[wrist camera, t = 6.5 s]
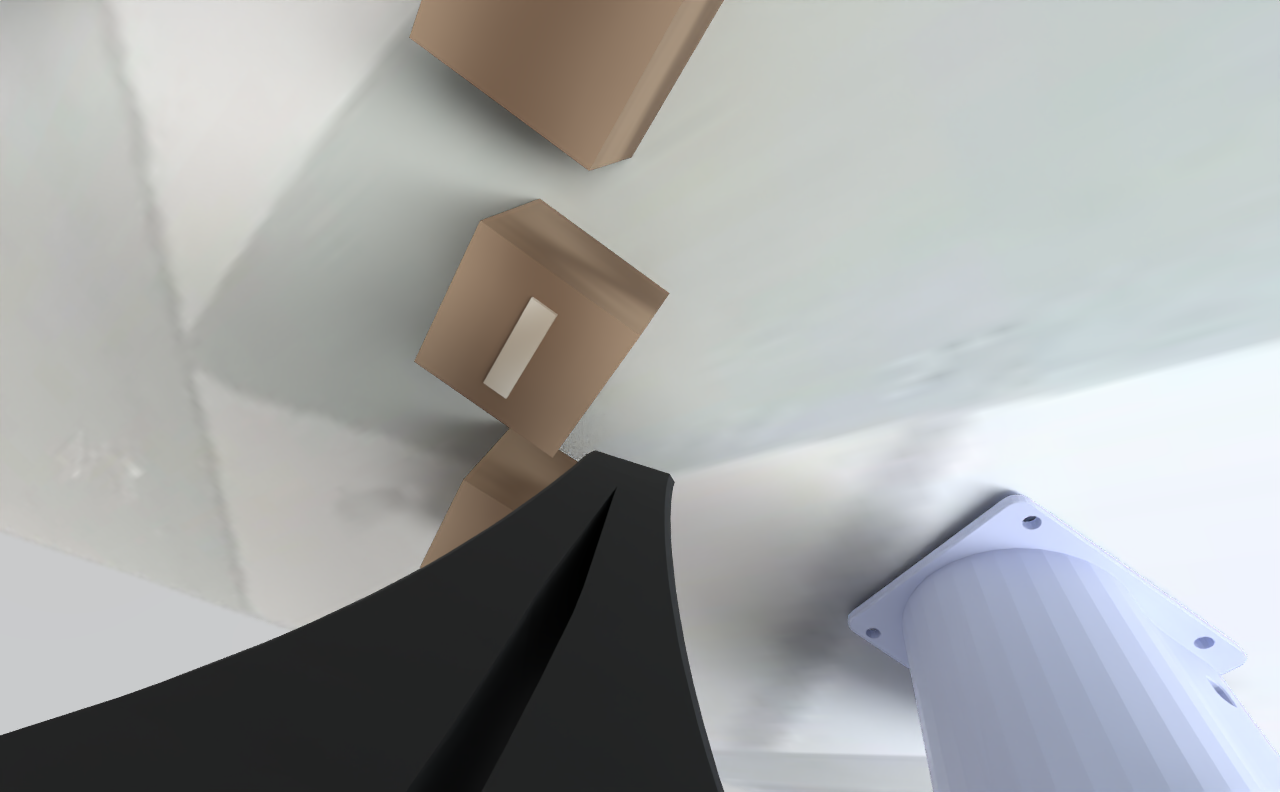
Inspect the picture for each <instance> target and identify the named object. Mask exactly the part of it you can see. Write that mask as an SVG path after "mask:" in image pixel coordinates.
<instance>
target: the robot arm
mask: <svg viewBox="0 0 1280 792" xmlns="http://www.w3.org/2000/svg"><path fill="white" fill-rule="evenodd" d="M674 483H675V482H674V480H673V479H672V477H671V475H670V474H668V473H665V472H662V471H659V470H655V469H652V468H649V467H646V466H643V465H640V464H636V463H633V462H630V461H627V460H624V459H620V458H617V457H614V456H611V455H608V454H605V453H601V452H598V451H593V452H591V453H589V454H587V455H586V456H584V457H583V458H582V459H581V460H580V461H579V462H577V463H576V464H575V465H574V466H572V467H571V468H570V469H569V470H568V471H566V472H565V473H564V474H563V475H561V476H560V477H559V478H557V479H556V480H555V481H554V482H552V483H551V484H550V485H548V486H547V487H546V488H544V489H543V490H542V491H540V492H539V493H538V494H536V495H535V496H534V497H532V498H531V499H529V500H528V501H526V502H525V503H524V504H522V505H521V506H519V507H518V508H517V509H515V510H514V511H512V512H511V513H509V514H508V515H507V516H505V517H504V518H502V519H501V520H499V521H498V522H496V523H495V524H493V525H492V526H490V527H489V528H487V529H485V530H484V531H482V532H481V533H479V534H477V535H476V536H474V537H473V538H471V539H469V540H468V541H466V542H465V543H463V544H461V545H460V546H458V547H456V548H455V549H453V550H452V551H450V552H448V553H447V554H445V555H443V556H442V557H440V558H438V559H436V560H435V561H433V562H431V563H429V564H428V565H426V566H424V567H422V568H421V569H419V570H417V571H415V572H413V573H411V574H410V575H408V576H406V577H404V578H402V579H400V580H398V581H396V582H394V583H392V584H390V585H388V586H387V587H385V588H383V589H381V590H379V591H377V592H375V593H373V594H371V595H369V596H367V597H365V598H363V599H360V600H358V601H356V602H354V603H352V604H350V605H348V606H346V607H343V608H341V609H339V610H337V611H335V612H333V613H331V614H328V615H326V616H324V617H322V618H320V619H318V620H316V621H313V622H311V623H309V624H307V625H304V626H302V627H300V628H298V629H295V630H293V631H291V632H288V633H286V634H284V635H281V636H279V637H277V638H274V639H272V640H269V641H267V642H265V643H262V644H260V645H257V646H254V647H252V648H249V649H246V650H244V651H241V652H239V653H236V654H234V655H231V656H229V657H226V658H223V659H221V660H218V661H216V662H213V663H210V664H208V665H205V666H202V667H200V668H197V669H195V670H192V671H189V672H187V673H184V674H182V675H179V676H176V677H174V678H171V679H169V680H166V681H164V682H161V683H158V684H155V685H152V686H149V687H147V688H144V689H141V690H138V691H135V692H133V693H130V694H127V695H124V696H121V697H119V698H116V699H112V700H109V701H106V702H103V703H100V704H97V705H94V706H91V707H87V708H84V709H81V710H78V711H75V712H72V713H69V714H66V715H62V716H60V717H56V718H53V719H50V720H47V721H44V722H41V723H38V724H35V725H31V726H28V727H25V728H22V729H19V730H16V731H13V732H10V733H7V734H3V735H0V792H724V790H723V787H722V784H721V781H720V778H719V775H718V772H717V768H716V765H715V761H714V758H713V754H712V751H711V747H710V744H709V740H708V737H707V733H706V730H705V726H704V723H703V719H702V715H701V711H700V707H699V703H698V700H697V696H696V692H695V688H694V684H693V679H692V675H691V671H690V666H689V662H688V657H687V652H686V647H685V642H684V637H683V631H682V625H681V620H680V614H679V608H678V601H677V594H676V587H675V578H674V569H673V559H672V548H671V522H670V515H671V498H672V490H673V486H674ZM1029 516H1036V518H1035V519H1034V520H1032V521H1030V522H1024V521H1023V520H1024V519H1025V518H1027V517H1029ZM848 625H849V628H850V629H851V630H852V631H853V632H854V633H856V634H857V635H859V636H860V637H862V638H863V639H865V640H866V641H868V642H869V643H871V644H872V645H874V646H875V647H877V648H878V649H880V650H881V651H883V652H884V653H886V654H887V655H889V656H890V657H892V658H893V659H895V660H896V661H897V662H899V663H900V664H902V665H903V666H905V667H906V668H908V669H909V670H910V672H911V678H912V683H913V688H914V693H915V699H916V704H917V709H918V714H919V719H920V725H921V730H922V735H923V740H924V745H925V751H926V756H927V761H928V766H929V771H930V777H931V782H932V787H933V792H1280V755H1279V754H1278V753H1277V751H1276V750H1275V749H1274V747H1273V746H1272V745H1271V743H1270V742H1269V740H1268V739H1267V738H1266V736H1265V735H1264V734H1263V732H1262V731H1261V730H1260V728H1259V727H1258V725H1257V724H1256V723H1255V721H1254V720H1253V719H1252V717H1251V716H1250V715H1249V713H1248V712H1247V710H1246V709H1245V708H1244V706H1243V705H1242V704H1241V702H1240V701H1239V700H1238V698H1237V697H1236V695H1235V694H1234V693H1233V691H1232V690H1231V689H1230V687H1229V686H1228V685H1227V683H1226V682H1225V680H1224V679H1223V678H1222V676H1221V675H1223V674H1225V673H1227V672H1229V671H1231V670H1234V669H1236V668H1238V667H1240V666H1241V665H1243V664H1244V663H1245V662H1246V660H1247V654H1246V653H1245V652H1244V651H1243V649H1242V648H1241V647H1240V646H1239V645H1238V644H1237V643H1236V642H1235V641H1233V640H1232V639H1230V638H1229V637H1228V636H1226V635H1225V634H1223V633H1222V632H1220V631H1219V630H1218V629H1216V628H1215V627H1213V626H1212V625H1210V624H1209V623H1208V622H1206V621H1205V620H1203V619H1202V618H1200V617H1199V616H1198V615H1196V614H1195V613H1193V612H1192V611H1190V610H1189V609H1188V608H1186V607H1185V606H1183V605H1182V604H1180V603H1179V602H1178V601H1176V600H1175V599H1173V598H1172V597H1170V596H1169V595H1167V594H1166V593H1165V592H1163V591H1162V590H1160V589H1159V588H1157V587H1156V586H1155V585H1153V584H1152V583H1150V582H1149V581H1147V580H1146V579H1145V578H1143V577H1142V576H1140V575H1139V574H1137V573H1136V572H1135V571H1133V570H1132V569H1130V568H1129V567H1127V566H1126V565H1125V564H1123V563H1122V562H1120V561H1119V560H1117V559H1116V558H1115V557H1113V556H1112V555H1110V554H1109V553H1107V552H1106V551H1104V550H1103V549H1102V548H1100V547H1099V546H1097V545H1096V544H1094V543H1093V542H1092V541H1090V540H1089V539H1087V538H1086V537H1084V536H1083V535H1082V534H1080V533H1079V532H1077V531H1076V530H1074V529H1073V528H1072V527H1070V526H1069V525H1067V524H1066V523H1064V522H1063V521H1062V520H1060V519H1059V518H1057V517H1056V516H1054V515H1053V514H1052V513H1050V512H1049V511H1047V510H1046V509H1044V508H1043V507H1042V506H1040V505H1039V504H1037V503H1036V502H1034V501H1033V500H1031V499H1030V498H1028V497H1026V496H1024V495H1017V494H1016V495H1010V496H1008V497H1006V498H1004V499H1002V500H1001V501H1000V502H998V503H997V504H996V505H994V506H993V507H991V508H990V509H989V510H987V511H986V512H985V513H983V514H982V515H981V516H979V517H978V518H977V519H975V520H974V521H973V522H971V523H970V524H969V525H967V526H966V527H965V528H963V529H962V530H961V531H959V532H958V533H956V534H955V535H954V536H952V537H951V538H950V539H948V540H947V541H946V542H944V543H943V544H942V545H940V546H939V547H938V548H936V549H935V550H934V551H932V552H931V553H930V554H928V555H927V556H926V557H924V558H923V559H922V560H920V561H919V562H917V563H916V564H915V565H913V566H912V567H911V568H909V569H908V570H907V571H905V572H904V573H903V574H901V575H900V576H899V577H897V578H896V579H895V580H893V581H892V582H891V583H889V584H888V585H887V586H885V587H884V588H883V589H881V590H880V591H878V592H877V593H876V594H874V595H873V596H872V597H870V598H869V599H868V600H866V601H865V602H864V603H862V604H861V605H860V606H858V607H857V608H856V609H854V610H853V611H852V612H851V613H850V614H849V615H848ZM870 628H875V629H876V630H869V629H870ZM1201 637H1203V638H1201ZM1197 638H1199V639H1197Z"/></svg>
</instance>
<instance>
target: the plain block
mask: <svg viewBox="0 0 1280 792" xmlns="http://www.w3.org/2000/svg"><path fill="white" fill-rule="evenodd" d="M723 1H724V0H422V1H421V4H420V7H419V10H418V13H417V16H416V19H415V22H414V25H413V28H412V31H411V34H410V37H409V38H411V39H412V40H413V41H415V42H416V43H417V44H419V45H420V46H421V47H423V48H424V49H425V50H427V51H428V52H429V53H431V54H432V55H434V56H435V57H436V58H438V59H439V60H440V61H442V62H443V63H444V64H446V65H447V66H448V67H450V68H451V69H452V70H454V71H455V72H456V73H458V74H459V75H461V76H462V77H463V78H465V79H466V80H467V81H469V82H470V83H471V84H473V85H474V86H475V87H477V88H478V89H479V90H481V91H482V92H483V93H485V94H486V95H488V96H489V97H490V98H492V99H493V100H494V101H496V102H497V103H498V104H500V105H501V106H502V107H504V108H505V109H506V110H508V111H509V112H510V113H512V114H513V115H515V116H516V117H517V118H519V119H520V120H521V121H523V122H524V123H525V124H527V125H528V126H529V127H531V128H532V129H533V130H535V131H536V132H537V133H539V134H540V135H542V136H543V137H544V138H546V139H547V140H548V141H550V142H551V143H552V144H554V145H555V146H556V147H558V148H559V149H560V150H562V151H563V152H564V153H566V154H567V155H569V156H570V157H571V158H573V159H574V160H575V161H577V162H578V163H579V164H581V165H582V166H583V167H585V168H586V169H587V170H589V171H590V170H593V169H596V168H600V167H603V166H606V165H609V164H612V163H615V162H618V161H621V160H624V159H628V158H631V157H632V156H633V154H634V152H635V150H636V149H637V147H638V145H639V144H640V142H641V140H642V139H643V137H644V135H645V133H646V132H647V130H648V128H649V127H650V125H651V123H652V122H653V120H654V118H655V116H656V115H657V113H658V111H659V110H660V108H661V106H662V104H663V103H664V101H665V99H666V98H667V96H668V94H669V93H670V91H671V89H672V87H673V86H674V84H675V82H676V81H677V79H678V77H679V75H680V74H681V72H682V70H683V69H684V67H685V65H686V64H687V62H688V60H689V58H690V57H691V55H692V53H693V52H694V50H695V48H696V47H697V45H698V43H699V41H700V40H701V38H702V36H703V35H704V33H705V31H706V29H707V28H708V26H709V24H710V23H711V21H712V19H713V18H714V16H715V14H716V12H717V11H718V9H719V7H720V6H721V4H722V2H723Z"/></svg>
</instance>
